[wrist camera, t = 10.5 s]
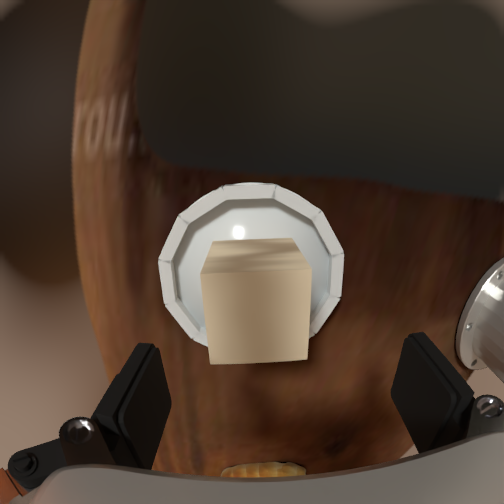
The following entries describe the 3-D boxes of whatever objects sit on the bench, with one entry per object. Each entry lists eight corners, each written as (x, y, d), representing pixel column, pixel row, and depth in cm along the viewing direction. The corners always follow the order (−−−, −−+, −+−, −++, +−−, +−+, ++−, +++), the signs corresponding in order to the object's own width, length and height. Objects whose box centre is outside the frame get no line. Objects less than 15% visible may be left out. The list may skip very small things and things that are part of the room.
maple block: (291, 237, 19) (311, 269, 13) (291, 308, 21) (307, 359, 15) (212, 240, 19) (199, 273, 13) (218, 311, 21) (210, 364, 15)
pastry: (220, 483, 28) (219, 507, 25) (221, 456, 27) (220, 483, 23) (295, 484, 29) (299, 507, 25) (307, 456, 27) (313, 483, 23)
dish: (340, 181, 19) (347, 183, 18) (331, 341, 22) (336, 351, 21) (156, 187, 19) (149, 189, 17) (176, 347, 22) (172, 358, 21)
